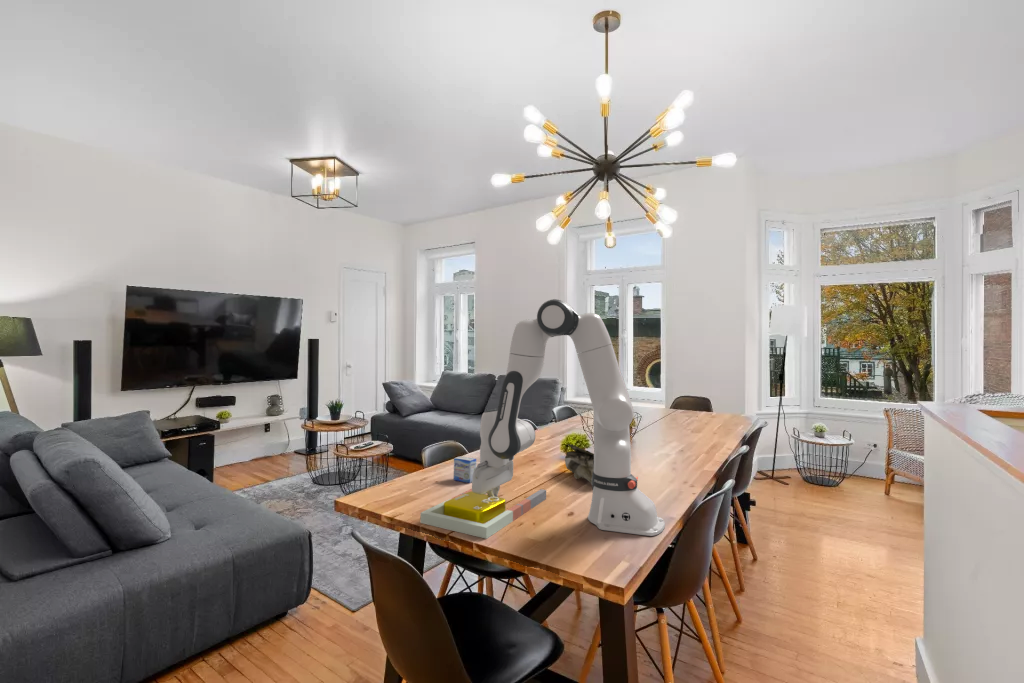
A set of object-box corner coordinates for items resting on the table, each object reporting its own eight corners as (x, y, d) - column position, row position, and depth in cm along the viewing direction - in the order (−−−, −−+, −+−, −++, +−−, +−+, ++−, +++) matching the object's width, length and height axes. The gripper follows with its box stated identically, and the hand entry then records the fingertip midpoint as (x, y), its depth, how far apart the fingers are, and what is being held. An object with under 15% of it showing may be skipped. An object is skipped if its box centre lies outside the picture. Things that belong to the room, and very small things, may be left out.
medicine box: (453, 480, 187) (453, 458, 187) (459, 477, 191) (459, 455, 191) (470, 483, 183) (470, 460, 183) (476, 480, 187) (476, 458, 187)
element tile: (470, 503, 162) (471, 489, 162) (508, 512, 154) (508, 497, 154) (440, 516, 149) (441, 501, 149) (479, 527, 141) (479, 510, 141)
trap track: (546, 498, 166) (546, 490, 166) (486, 538, 132) (486, 527, 132) (489, 488, 177) (489, 480, 177) (420, 522, 143) (420, 512, 143)
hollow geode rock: (569, 481, 204) (547, 457, 201) (589, 458, 207) (567, 434, 204) (603, 499, 178) (578, 472, 175) (625, 473, 181) (600, 446, 178)
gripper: (484, 466, 147) (483, 511, 147) (516, 453, 164) (516, 493, 164) (467, 463, 150) (466, 508, 150) (500, 451, 168) (500, 490, 168)
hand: (493, 500), depth 157 cm, fingers closed
